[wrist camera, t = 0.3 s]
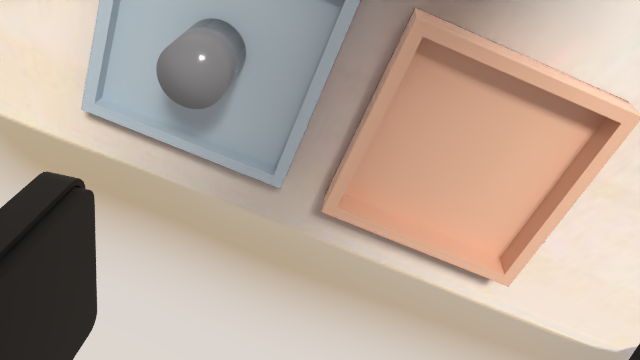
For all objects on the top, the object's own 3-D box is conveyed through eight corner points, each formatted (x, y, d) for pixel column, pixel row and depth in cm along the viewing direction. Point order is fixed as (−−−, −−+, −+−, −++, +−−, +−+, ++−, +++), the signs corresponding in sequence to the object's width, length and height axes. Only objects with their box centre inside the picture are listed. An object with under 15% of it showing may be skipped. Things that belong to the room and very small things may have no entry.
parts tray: (131, -118, 39) (119, -117, 37) (365, -15, 41) (364, -9, 39) (92, 100, 48) (81, 109, 46) (284, 177, 50) (280, 188, 48)
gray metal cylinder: (193, 7, 42) (165, 29, 37) (254, 33, 43) (234, 58, 38) (178, 65, 45) (149, 92, 40) (235, 89, 45) (215, 119, 40)
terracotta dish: (415, 7, 41) (416, 17, 38) (627, 101, 43) (642, 117, 40) (325, 193, 50) (321, 212, 48) (503, 265, 52) (508, 286, 49)
